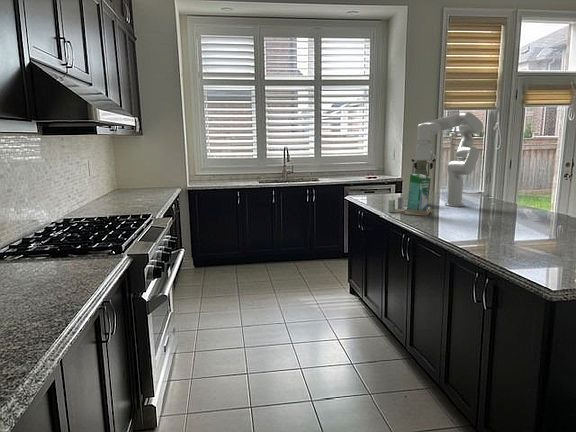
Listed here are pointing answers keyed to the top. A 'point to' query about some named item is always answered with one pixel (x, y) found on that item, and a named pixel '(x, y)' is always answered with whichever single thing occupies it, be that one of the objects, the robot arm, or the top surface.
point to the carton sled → (410, 212)
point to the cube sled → (400, 203)
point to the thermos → (421, 168)
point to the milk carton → (418, 192)
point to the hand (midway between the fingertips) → (423, 169)
